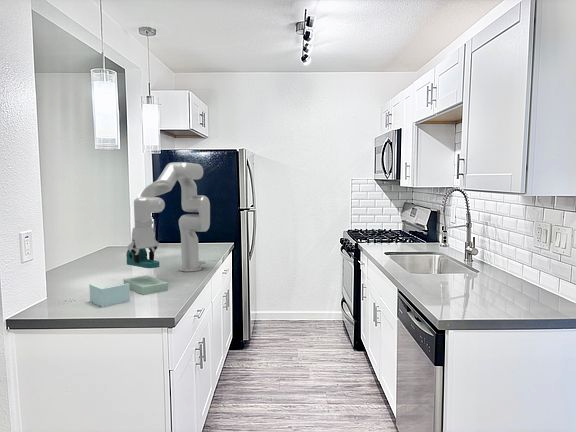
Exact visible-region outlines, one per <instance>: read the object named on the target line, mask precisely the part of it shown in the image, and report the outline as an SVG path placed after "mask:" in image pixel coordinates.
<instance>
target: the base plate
mask: <svg viewBox="0 0 576 432" xmlns="http://www.w3.org/2000/svg"><path fill="white" fill-rule="evenodd" d="M122 280H123V281H122V282H123V284H128V283H129V286H130V290H131V291H133V292H136V293H138V294H140V295H141V296H146V295H152V294H157V293H161V292H165V291H169V283H168V282H166V281H164V280H161V279H158V278H156V277H153V276H150V275H141V276H133V277H129V278H122Z"/></svg>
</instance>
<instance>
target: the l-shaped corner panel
mask: <svg viewBox="0 0 576 432" xmlns="http://www.w3.org/2000/svg"><path fill="white" fill-rule="evenodd" d="M130 290H131V289H130V286H129V283H128V284H124V283H123V284H119V285H113V286H108V287H101V286H99V285H96V284H93V283H89V302H91V303H92V302H93V304H95V305H97V306H99V307H101V308H104V307H109V306H114V305H117V304H118V305H119V304H122V303H127V302H130V301H131V291H130Z"/></svg>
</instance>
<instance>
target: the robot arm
mask: <svg viewBox="0 0 576 432" xmlns="http://www.w3.org/2000/svg"><path fill="white" fill-rule="evenodd" d="M203 176H204V168H203V166H202V165H201V164H199V163H194V162H193V163H192V162H186V161H184V162H183V161H182V162H178V161H176V162H169V163H167V164H166V165H165V167H164V169H163V170H162V172H161V174H160V175H159V176H158V178H157V180H155V181H153V182H151V183H150V184H148V185H146V186H145V187H144V188H143V189H142V190H141V191H140V192H139V193H138V195H137V197H136V198H135V199H134V200H133V216H134V227H132V232H131V242H130V244H129V245H127V247H126V248H127V250H128V249H129V250H130V252H131V253H132V254H134V262H135V263H139V255H138V252H139V250H140V249H148V250H149V252H148V259H149V260H155V252H156V251H157V249H158V246H159V245H160V242H159V241H158V240H156V239H155V238H156V237H155V232H154V228H153V226H152V225H154V221H152V213H153V214H154V213H156V214H157V213H158V214H159V213H162V212H163V210H165V207H166V203H165V200H164V199H163V198H161V197H157V196H161V195H164V194H166V193H169V192H171V191H172V190H173V188H174V186H175V185H176V183H177V181H178V183H179V184H180V189H181V209H182V210H183V211H184V212H187V213H188V214H182V215H181V216H180V218H179V219H178V226H179V231H180V243H181V244H180V248H181V249H180V250H181V253H180V254H181V266H180V267H179V268H178V271H180V272H184V273H185V272H187V273H188V272H198V271H201V270H202V265H206V260H199V259H200V257H199V254H200V253H199V237H198V235H197V234H196V232H201V233H202V232H204V233H205V232H208V230H209V229H210V225H211V203H210V199H209V197H207V196H206V195H202V194H201V195H198V186H197V184H196V182H195V181H194V180H200V179H202V178H203ZM190 213H193V214H190ZM194 213H198V214H194ZM133 248H134V250H133Z"/></svg>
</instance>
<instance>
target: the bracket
mask: <svg viewBox="0 0 576 432" xmlns="http://www.w3.org/2000/svg"><path fill="white" fill-rule="evenodd" d="M132 249H133V250H134V248H132ZM147 251H148V250H147V248H145V249H140V250H139V252H138V255H139V263H135V262H134V254H132V253H131V252H130V250H129V249H128V248H127V251H126V255H125V257H126V265H127V266H133V267H139V268H144V269H156V268H160V261H159V260H156V259H154V260H149V258H148V252H147Z"/></svg>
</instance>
